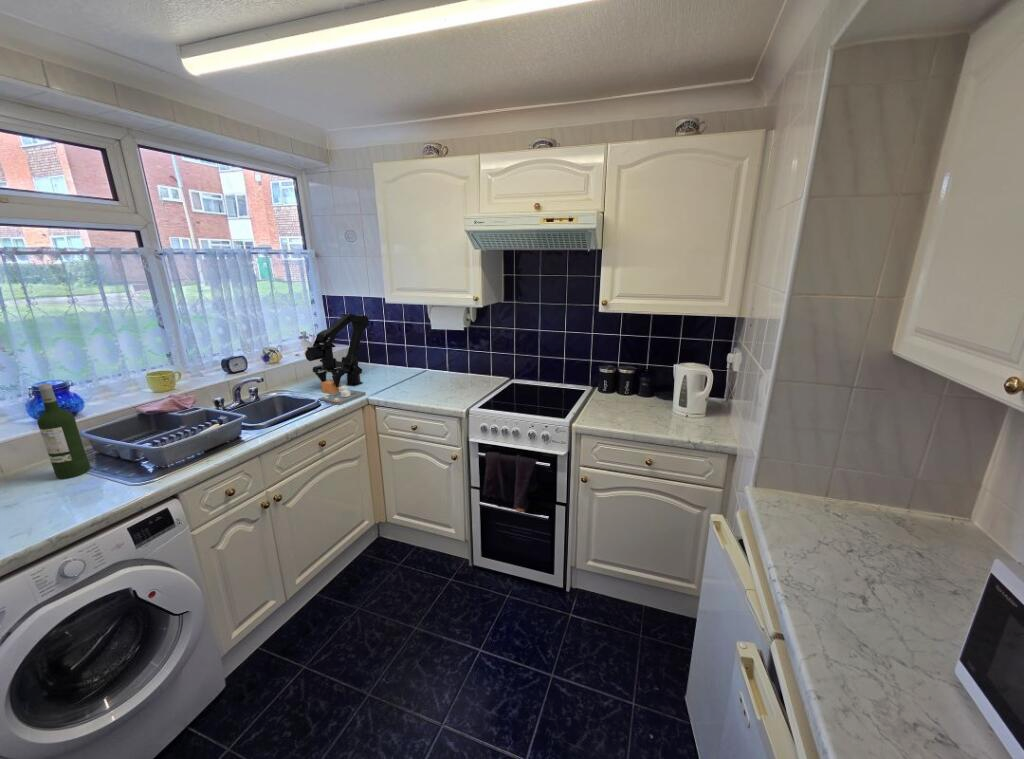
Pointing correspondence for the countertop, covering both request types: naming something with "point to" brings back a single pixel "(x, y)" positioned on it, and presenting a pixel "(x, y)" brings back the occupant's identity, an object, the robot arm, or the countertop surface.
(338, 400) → the grey flat panel
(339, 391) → the breaker
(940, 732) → the countertop surface
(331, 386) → the lockout cap
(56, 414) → the wine bottle
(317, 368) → the robot arm
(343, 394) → the breaker
